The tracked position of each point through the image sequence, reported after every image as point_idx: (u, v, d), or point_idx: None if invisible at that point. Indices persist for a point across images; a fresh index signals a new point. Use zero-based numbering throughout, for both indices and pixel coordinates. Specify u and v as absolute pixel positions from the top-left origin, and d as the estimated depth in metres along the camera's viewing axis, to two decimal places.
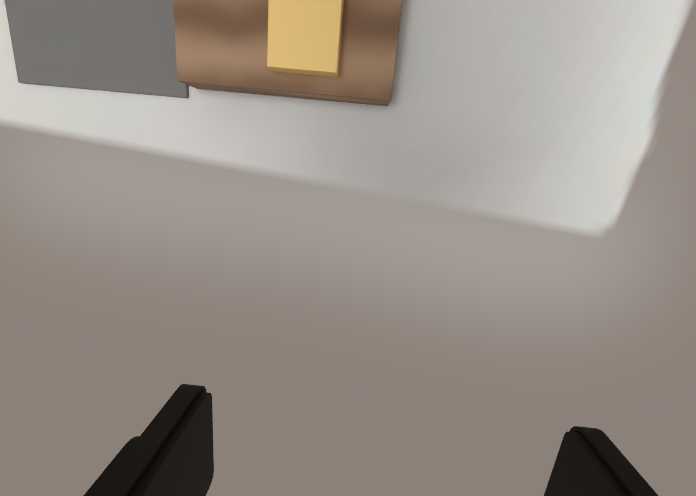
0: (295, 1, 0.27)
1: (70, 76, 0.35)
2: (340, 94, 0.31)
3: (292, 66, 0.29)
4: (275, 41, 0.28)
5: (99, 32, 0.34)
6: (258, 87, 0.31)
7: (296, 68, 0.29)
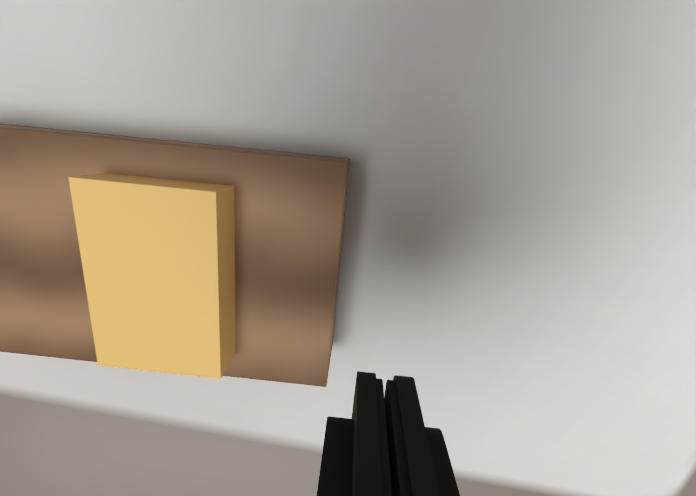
0: (132, 275, 0.15)
1: None
2: (241, 376, 0.18)
3: (142, 367, 0.16)
4: (106, 331, 0.16)
5: None
6: None
7: (150, 369, 0.16)
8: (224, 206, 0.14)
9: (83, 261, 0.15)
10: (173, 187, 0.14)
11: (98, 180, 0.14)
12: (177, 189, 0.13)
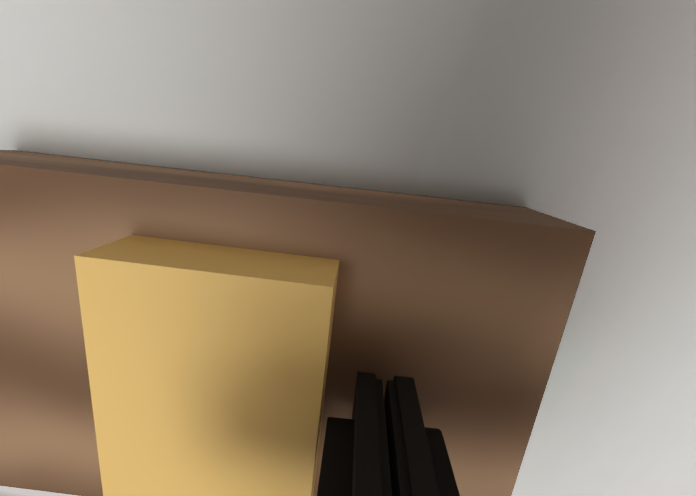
0: (175, 412, 0.09)
1: None
2: None
3: None
4: (124, 490, 0.10)
5: None
6: None
7: None
8: (333, 301, 0.09)
9: (93, 388, 0.09)
10: (257, 276, 0.08)
11: (126, 262, 0.08)
12: (265, 280, 0.08)
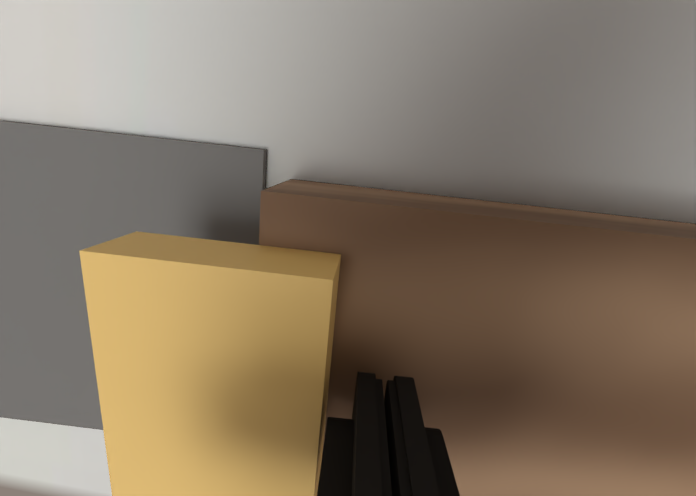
0: (179, 405, 0.09)
1: (3, 401, 0.16)
2: None
3: None
4: (132, 483, 0.10)
5: (65, 329, 0.15)
6: None
7: None
8: (334, 294, 0.09)
9: (100, 381, 0.09)
10: (257, 269, 0.08)
11: (129, 256, 0.08)
12: (265, 274, 0.08)
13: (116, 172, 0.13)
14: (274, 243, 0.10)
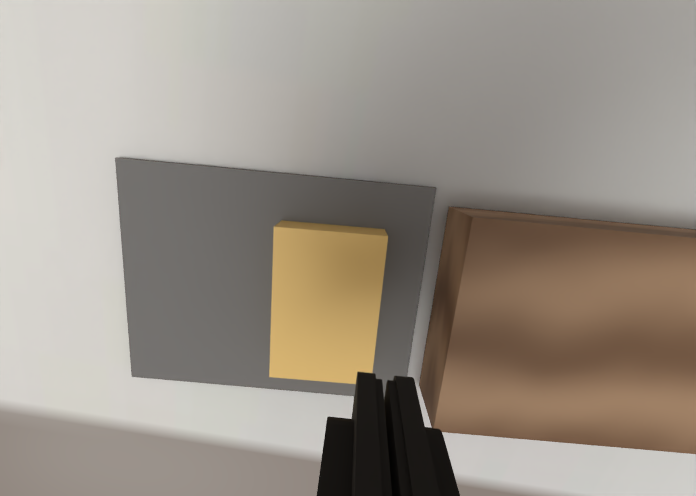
0: None
1: (219, 371, 0.22)
2: None
3: None
4: None
5: None
6: (569, 441, 0.19)
7: None
8: None
9: None
10: (312, 223, 0.19)
11: (364, 228, 0.19)
12: (308, 223, 0.19)
13: (333, 204, 0.19)
14: (476, 248, 0.16)
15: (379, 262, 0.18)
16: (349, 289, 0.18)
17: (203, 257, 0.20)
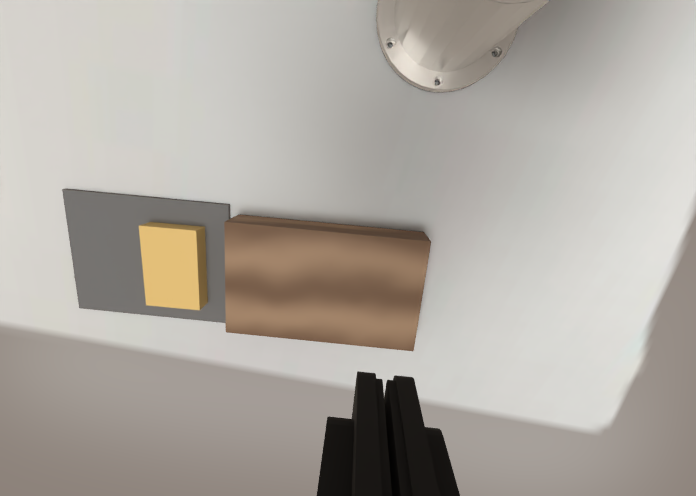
0: None
1: (126, 305, 0.39)
2: (369, 345, 0.35)
3: None
4: None
5: None
6: (297, 338, 0.36)
7: None
8: None
9: (205, 258, 0.37)
10: (166, 223, 0.36)
11: (193, 226, 0.36)
12: (164, 223, 0.37)
13: (176, 213, 0.36)
14: (229, 236, 0.33)
15: (193, 243, 0.35)
16: (180, 258, 0.35)
17: (111, 241, 0.37)
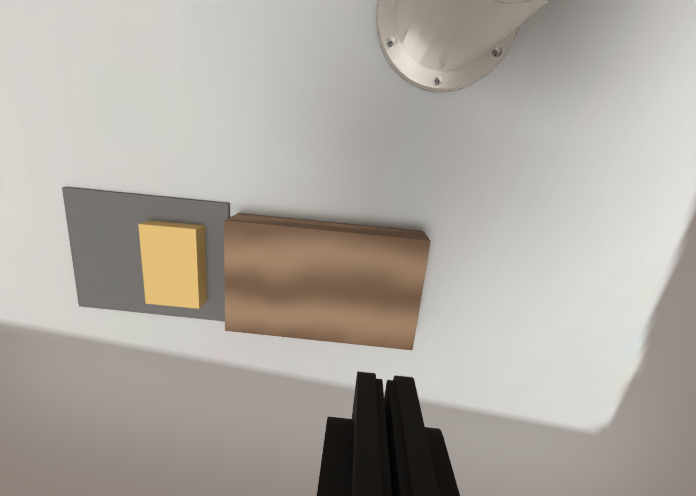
0: None
1: (125, 303, 0.39)
2: (368, 344, 0.35)
3: None
4: None
5: None
6: (296, 337, 0.36)
7: None
8: None
9: (204, 256, 0.37)
10: (165, 222, 0.36)
11: (193, 224, 0.36)
12: (164, 222, 0.37)
13: (176, 211, 0.36)
14: (228, 235, 0.33)
15: (193, 242, 0.35)
16: (180, 256, 0.35)
17: (111, 239, 0.37)
